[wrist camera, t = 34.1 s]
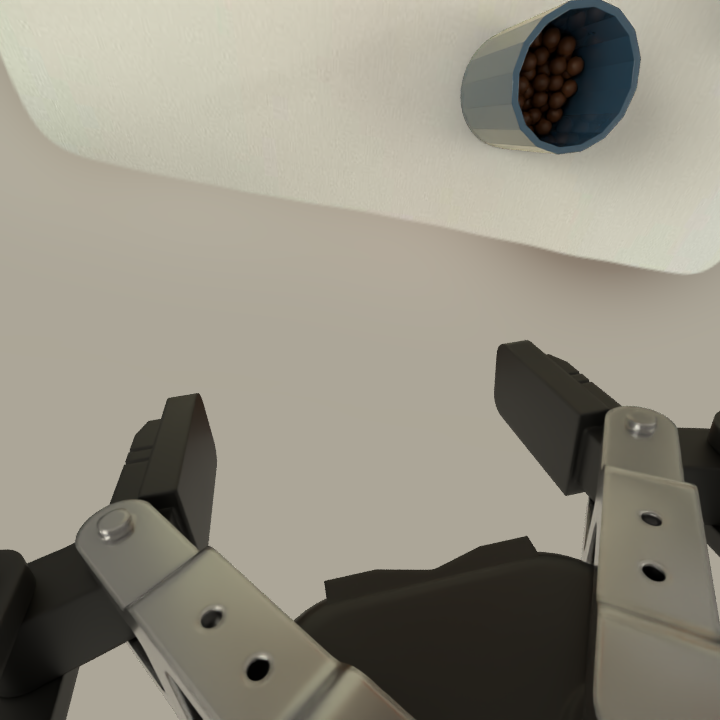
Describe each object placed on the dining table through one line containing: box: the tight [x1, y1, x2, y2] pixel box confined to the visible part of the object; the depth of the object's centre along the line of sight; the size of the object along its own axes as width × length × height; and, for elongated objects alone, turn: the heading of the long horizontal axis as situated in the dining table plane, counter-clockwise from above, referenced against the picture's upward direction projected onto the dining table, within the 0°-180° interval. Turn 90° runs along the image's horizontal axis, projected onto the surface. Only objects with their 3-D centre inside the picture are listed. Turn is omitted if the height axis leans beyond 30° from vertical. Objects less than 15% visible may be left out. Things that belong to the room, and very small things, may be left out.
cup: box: [461, 0, 641, 154], centre depth 27 cm, size 7×7×8 cm
